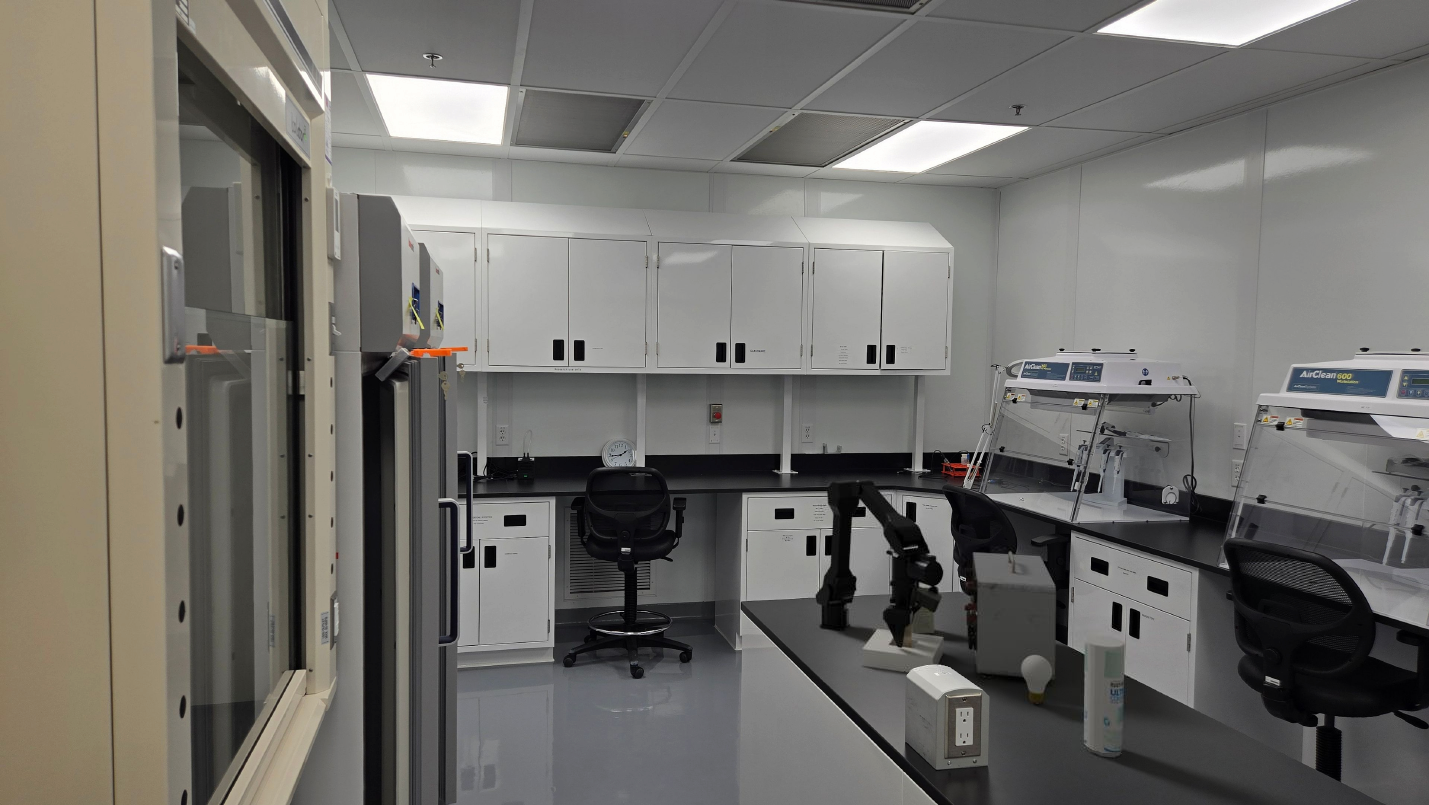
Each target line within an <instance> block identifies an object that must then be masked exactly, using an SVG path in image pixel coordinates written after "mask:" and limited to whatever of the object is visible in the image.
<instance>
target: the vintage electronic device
mask: <svg viewBox="0 0 1429 805" xmlns="http://www.w3.org/2000/svg"><path fill="white" fill-rule="evenodd" d="M964 578H965V579H972V581H965V582H964V587H965V588H966V595H967V596H969V597H970V602H969V603H967V604H965V605H964V610H965V611H966V626H967V627H966V628H967V630H966V631H967V637H968V638H967V639H968V644H967V645H968V650H971V651H972V650H974V652H973V653H974V661H975V662H974V663H975V672H976V673H978V674H981V676H982V675H983V676H985V677H992V676H993V677H994V675H996V676H997V675H998V676H1007V677H1009V676H1010V677H1020V678H1024V677H1023V675H1022V671H1021V666H1022V663H1023V661H1024V660H1025V659H1026V658H1027V657H1029V656H1031V655H1038V656H1042V657H1043V658H1045V659H1046V660H1047V661H1048V662H1049V663H1050V665H1051V668H1052V676H1051V678H1050V680H1052V681H1055V680H1056V633H1057V632H1056V630H1057V629H1056V626H1057V625H1056V624H1057V622H1056V618H1057V614H1056V613H1057V588H1056V584H1055V582H1054V580H1053V579H1052V576H1051V574H1050V572H1049V570H1048V568H1047V566H1046V564H1045V563H1044V560H1043V559H1042V557H1041V555H1031V554H1030V555H1026V554H1013V552H1012V551H1010V550H1009V551H1008V553H1006V554H1005V553H993V552H992V553H990V552H989V553H988V552H972V568H971V567H970V568H969V567H967V568H964ZM983 676H982V677H983ZM985 677H984V678H985ZM993 677H992V678H993ZM1050 680H1049V681H1048V682H1049V683H1050Z"/></svg>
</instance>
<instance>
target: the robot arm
mask: <svg viewBox="0 0 1429 805" xmlns="http://www.w3.org/2000/svg"><path fill="white" fill-rule="evenodd" d="M826 496H827V505H828V506H829V508H830V510H831V512H832V533H831V549H830V551H831V553H830V565H829V568H828V569H827V571H826V572H825V574H824V576H823V579H822V580H823V582H822V586H821V587H820V588H819V590H818V591H817V593H816V594H815V601H816V604H818V605H820V606H821V623H820V624H819V628H820V629H821V628H823V629H829V630H830V629H831V630H838V631H844V629H846V627H847V626H848V625H849V624H850V609H849V608H848V604H852V603H853V600H854V597H855V594H856V591H857V580H858V578H857V576H856V575H854V574H853V572H852V571H851V568H850V562H851V544H852V526H853V525H852V524H853V515H854V514H855V512H856V510H857V509H858V507H859V506H860V501H861V502H862V504H863V505H864V506H865V507H866V508H867V510H868V511H869V512H870V513H871V514H872V516H873V517H874V518H875V519H876V520H877V522H878V523H879V524H880V526H882V528H883V529H882V531H883V532H882V534H883V535H882V536H884V538H885V539H886V541H887V543H888V545H889V546H890V548H888V550H886V551H885V554H886V555H889V556H891V580H889V586H890V587H891V596H890V598H889V605H887V606H886V607H885V608H884V610H883V611H882V621H884V623H886V625H887V627H888V630H890V632H891V634H892V636H893V638H894V640H895V643H896V645H897V647H899V648H902V647H903V642H904V636H905V630H906V627H907V626H908V625H910V624H911V622H912V624H913V620H914V616H915V613H916V612H917V611H918V610H920V609H921V607H924V608H926V609H928V610H929V611H930V612H934V613H936V612H937V610H938V608H939V605H940V604H941V600H942V598H943V597H942V594H940V592H939V587H938V585H939V584H940V583H941V581H942V579H943V577H944V569H943V566H942V564H941V563H940V562H939V561H937V555H934V554H931V550H930V548H929V545H928V543H927V542H926V539H925V538H924V535H923V533H922V530H921V528H920V526H919V525H918V524H917V523H916V522H914V520H912V519H911V518H909V517H907V516H905V515H902V514H901V513H899V512H898V511H897V510H896V509H895V508H894V506H892V504H891V503H890V502H889V501H888V500H887V498H886V497H885V496H884V495H883V494H882V493H881V492H880V490H879V489H877V487H876V485H875V483H874V481H873V480H871V479H858V480H841V481H832V482H831V483H830V484H829V485H828V486H827V489H826ZM919 584H926V585H929V586H931V587H929V588H928V589H927V588H922V587H920V586H919Z"/></svg>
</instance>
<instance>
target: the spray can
mask: <svg viewBox="0 0 1429 805" xmlns="http://www.w3.org/2000/svg"><path fill="white" fill-rule="evenodd" d="M1125 647H1126V646H1125V642H1124V641H1123V640H1121V639H1119V638H1117V637H1112V636H1109V635H1099V634H1098V635H1097V634H1094V635H1088V636H1085V638H1084V684H1083V685H1084V688H1083V689H1084V690H1083V692H1084V693H1083V695H1084V700H1083V701H1084V704H1083V707H1084V708H1083V710H1084V711H1083V712H1084V713H1083V714H1084V715H1083V717H1084V718H1083V726H1084V727H1083V745H1084V744H1085V745H1086V746H1087V747H1089V748H1090V749H1092V750H1094V751H1099V752H1101V753H1119V752H1120V751H1122V752H1123V736H1124V735H1123V733H1124V732H1123V730H1124V729H1123V728H1124V726H1123V725H1124V690H1125V689H1124V688H1125V687H1124V686H1125V685H1124V684H1125V655H1126V654H1125V649H1126V648H1125Z"/></svg>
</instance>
